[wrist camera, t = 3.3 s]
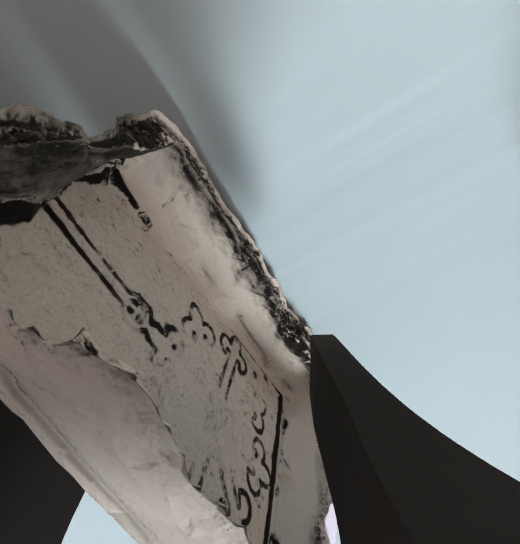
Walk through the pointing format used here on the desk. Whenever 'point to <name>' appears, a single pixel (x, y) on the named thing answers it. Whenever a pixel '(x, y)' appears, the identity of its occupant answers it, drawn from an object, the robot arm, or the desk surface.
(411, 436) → the robot arm
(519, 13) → the desk surface
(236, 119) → the desk surface
